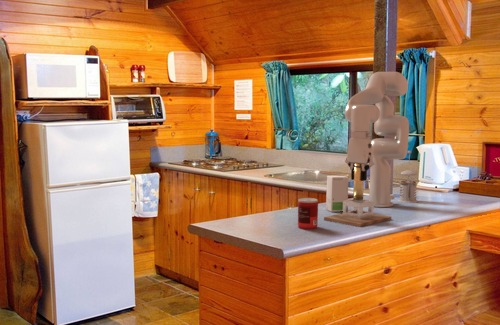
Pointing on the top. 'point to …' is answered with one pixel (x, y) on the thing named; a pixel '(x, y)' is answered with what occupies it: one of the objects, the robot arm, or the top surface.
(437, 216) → the top surface
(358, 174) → the brass tube
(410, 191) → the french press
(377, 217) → the stand board
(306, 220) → the canned food
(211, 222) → the top surface
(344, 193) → the skincare box
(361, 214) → the collar cage
